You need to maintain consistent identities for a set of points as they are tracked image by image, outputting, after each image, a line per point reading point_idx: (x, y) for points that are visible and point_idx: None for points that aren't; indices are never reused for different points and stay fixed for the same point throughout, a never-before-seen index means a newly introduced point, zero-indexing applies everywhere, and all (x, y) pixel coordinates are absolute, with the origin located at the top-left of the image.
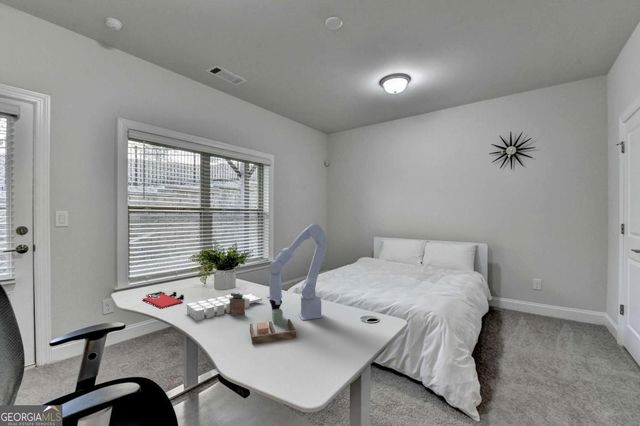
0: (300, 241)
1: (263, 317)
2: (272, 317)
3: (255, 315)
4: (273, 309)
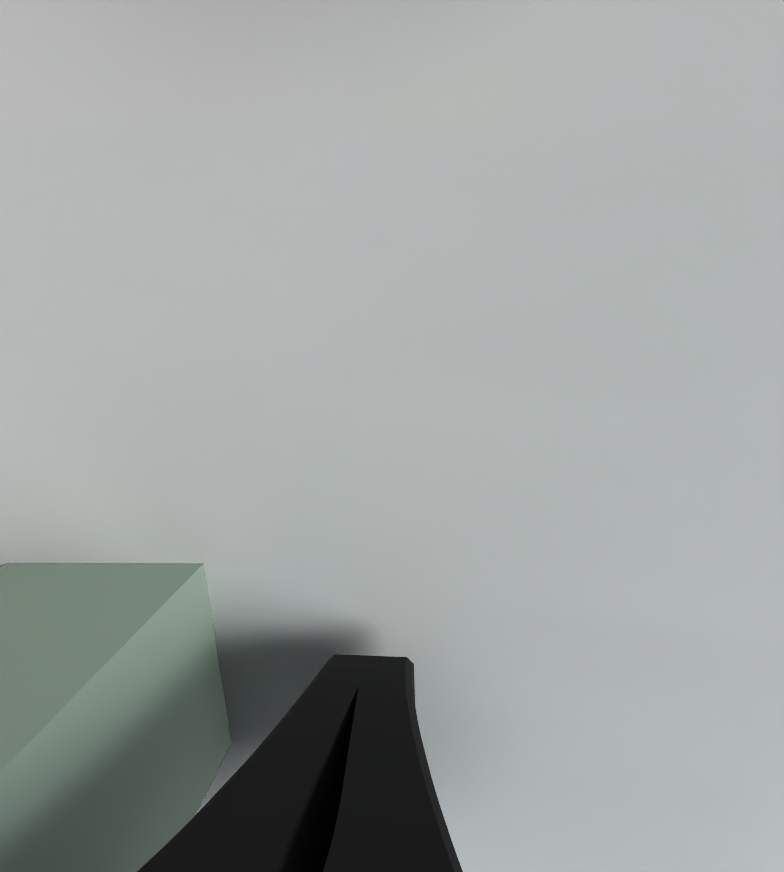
0: None
1: (473, 372)
2: (109, 614)
3: (755, 114)
4: (233, 838)
